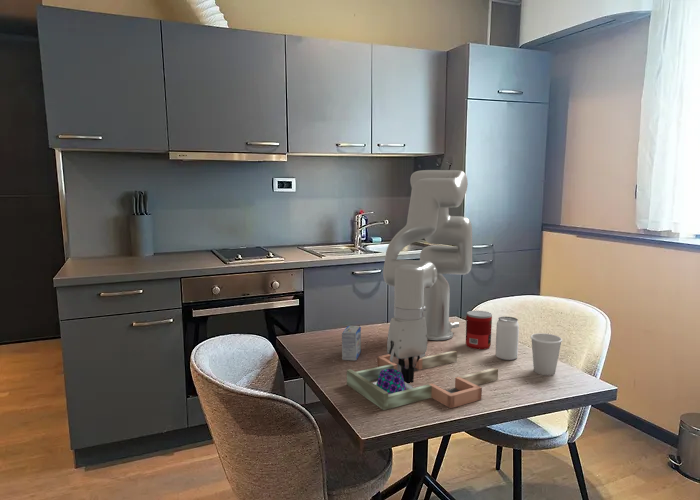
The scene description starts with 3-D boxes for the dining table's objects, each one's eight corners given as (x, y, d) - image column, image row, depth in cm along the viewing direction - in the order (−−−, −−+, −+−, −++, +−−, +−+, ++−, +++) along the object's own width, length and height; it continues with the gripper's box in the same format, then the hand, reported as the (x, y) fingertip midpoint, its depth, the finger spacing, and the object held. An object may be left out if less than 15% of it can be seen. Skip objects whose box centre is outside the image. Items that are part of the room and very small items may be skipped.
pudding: (423, 396, 126) (424, 376, 125) (382, 405, 120) (382, 384, 120) (397, 379, 136) (398, 361, 136) (359, 387, 131) (359, 368, 130)
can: (490, 354, 156) (492, 317, 154) (507, 352, 158) (509, 315, 156) (504, 361, 150) (506, 322, 148) (521, 359, 152) (523, 320, 150)
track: (454, 360, 151) (454, 347, 150) (497, 379, 136) (498, 365, 135) (346, 384, 132) (346, 370, 132) (383, 410, 117) (384, 393, 117)
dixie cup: (522, 368, 144) (524, 334, 143) (545, 364, 147) (547, 331, 146) (542, 378, 136) (544, 343, 135) (567, 375, 139) (569, 340, 138)
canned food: (494, 349, 161) (495, 316, 159) (469, 350, 160) (470, 316, 159) (486, 342, 168) (487, 310, 167) (462, 342, 168) (463, 310, 166)
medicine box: (356, 361, 150) (356, 333, 148) (341, 360, 150) (341, 332, 149) (361, 352, 157) (361, 325, 156) (347, 351, 158) (347, 325, 157)
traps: (405, 360, 150) (405, 350, 150) (481, 399, 123) (481, 387, 123) (377, 366, 145) (377, 356, 145) (450, 408, 118) (450, 396, 118)
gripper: (422, 306, 136) (421, 371, 138) (376, 313, 128) (375, 382, 130) (440, 312, 129) (438, 380, 132) (393, 320, 122) (392, 392, 124)
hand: (407, 381), depth 131 cm, fingers closed
